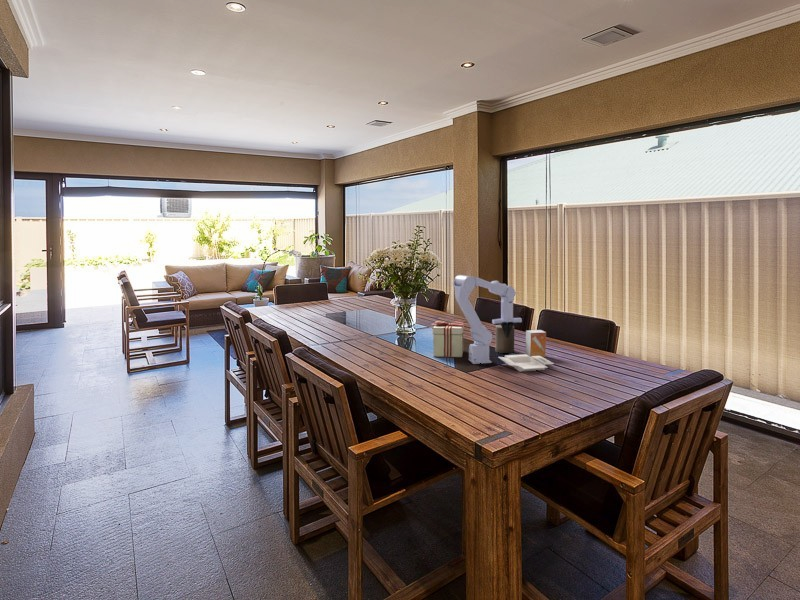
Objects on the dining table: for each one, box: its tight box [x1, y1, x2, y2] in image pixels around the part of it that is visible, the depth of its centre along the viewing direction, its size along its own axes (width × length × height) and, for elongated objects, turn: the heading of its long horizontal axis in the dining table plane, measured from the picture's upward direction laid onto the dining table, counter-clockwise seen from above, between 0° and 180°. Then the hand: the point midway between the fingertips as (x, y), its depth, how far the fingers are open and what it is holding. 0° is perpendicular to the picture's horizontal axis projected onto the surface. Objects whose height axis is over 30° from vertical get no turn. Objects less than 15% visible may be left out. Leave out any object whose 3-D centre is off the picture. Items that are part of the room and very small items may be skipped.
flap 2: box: [531, 356, 555, 366], centre depth 220 cm, size 4×14×1 cm, turn 9°
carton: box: [504, 353, 549, 373], centre depth 219 cm, size 12×23×2 cm, turn 9°
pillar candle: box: [494, 324, 515, 354], centre depth 246 cm, size 10×10×15 cm
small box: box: [524, 329, 547, 358], centre depth 235 cm, size 8×6×13 cm
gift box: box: [430, 320, 465, 358], centre depth 244 cm, size 17×18×17 cm
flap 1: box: [497, 356, 518, 367], centre depth 218 cm, size 4×14×1 cm, turn 10°
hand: (506, 337), depth 233 cm, fingers closed
